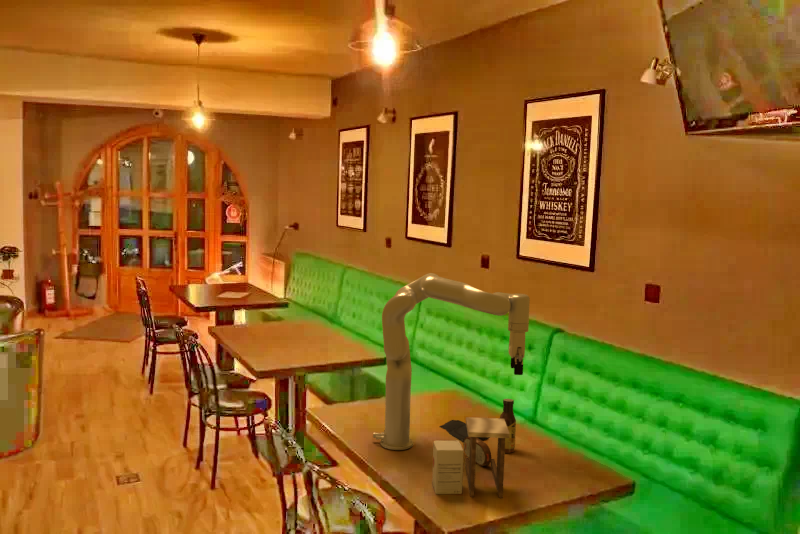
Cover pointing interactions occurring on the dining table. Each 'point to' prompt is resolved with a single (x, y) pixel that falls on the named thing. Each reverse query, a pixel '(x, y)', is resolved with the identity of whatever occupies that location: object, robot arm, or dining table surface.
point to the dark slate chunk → (458, 430)
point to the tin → (478, 451)
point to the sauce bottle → (509, 424)
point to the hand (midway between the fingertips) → (516, 371)
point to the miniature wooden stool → (500, 431)
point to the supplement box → (447, 467)
